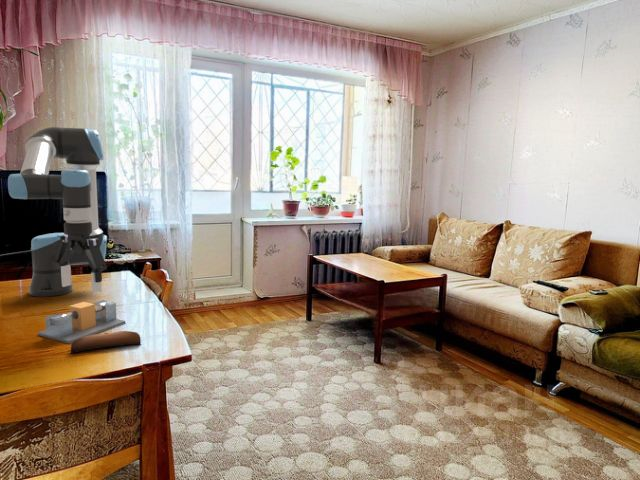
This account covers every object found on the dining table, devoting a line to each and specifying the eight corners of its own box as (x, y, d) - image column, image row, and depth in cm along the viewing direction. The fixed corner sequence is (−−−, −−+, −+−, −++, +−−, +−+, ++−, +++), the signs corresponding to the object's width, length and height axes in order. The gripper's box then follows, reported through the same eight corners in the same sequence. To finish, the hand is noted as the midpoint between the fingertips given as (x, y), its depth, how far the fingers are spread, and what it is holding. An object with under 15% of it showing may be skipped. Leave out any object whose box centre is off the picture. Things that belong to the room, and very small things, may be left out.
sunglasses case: (138, 335, 139) (139, 320, 135) (140, 353, 134) (141, 338, 130) (71, 343, 131) (70, 328, 127) (71, 363, 126) (69, 348, 122)
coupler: (70, 327, 141) (69, 305, 140) (85, 322, 146) (84, 301, 145) (81, 330, 139) (80, 308, 138) (96, 325, 144) (95, 304, 143)
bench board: (38, 334, 136) (37, 332, 136) (95, 316, 154) (95, 314, 154) (69, 343, 131) (69, 341, 130) (125, 323, 149) (125, 320, 148)
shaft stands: (46, 334, 135) (45, 316, 134) (103, 316, 153) (103, 299, 152) (60, 338, 132) (58, 319, 131) (116, 318, 150) (115, 302, 149)
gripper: (39, 218, 139) (43, 285, 142) (96, 226, 129) (99, 298, 132) (61, 216, 146) (65, 280, 149) (117, 223, 135) (120, 292, 139)
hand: (81, 289), depth 141 cm, fingers open, 13 cm apart
